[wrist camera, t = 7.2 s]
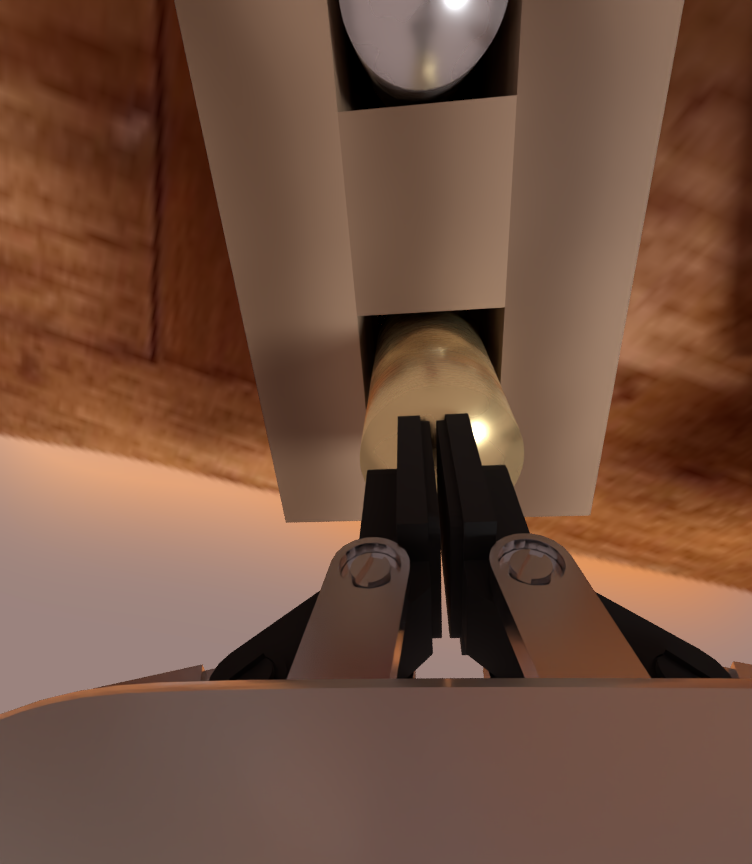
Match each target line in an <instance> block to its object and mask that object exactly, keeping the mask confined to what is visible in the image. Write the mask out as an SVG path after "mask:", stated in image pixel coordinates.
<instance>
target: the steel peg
mask: <svg viewBox="0 0 752 864" xmlns="http://www.w3.org/2000/svg"><path fill="white" fill-rule="evenodd" d="M339 3H340V9H341V14H342V18H343V22H344V25H345V27H346V30H347V33H348V35H349V38H350V40H351V42H352V44H353V46H354V49H355V51H356V53H357V55H358V57H359V59H360V62H361V64H362V66H363V68H364V70H365V72H366V75H367V77H368V79H369V81H370V83H371V85H372V87H373V90H374V91H375V93H376V94H377V96H378V97H379V98H380V99H381V101H382V102H383V103H384V104H385V105H387V106H388V107H398V106H408V105H419V104H429V103H440V102H447V101H448V100H449V99H450V98H451V97H452V96H453V95H454V93H455V92H456V91H457V89H458V88H459V86H460V85H461V84H462V82H463V81H464V80H465V78H466V77H467V76H468V74H469V73H470V72H471V70H472V69H473V67H474V66H475V65H476V63H477V62H478V61H479V59H480V58H481V57H482V55H483V54H484V52H485V51H486V50H487V48H488V47H489V45H490V44H491V42H492V40H493V38H494V37H495V35H496V33H497V31H498V29H499V26H500V24H501V21H502V19H503V16H504V13H505V10H506V6H507V3H508V0H339Z"/></svg>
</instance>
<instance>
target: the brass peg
mask: <svg viewBox="0 0 752 864" xmlns="http://www.w3.org/2000/svg"><path fill="white" fill-rule="evenodd" d="M460 413H468V415H469V418H470V422H471V426H472V430H473V433H474V437H475V441H476V444H477V448H478V452H479V456H480V459H481V463H482V465H506V467H507V469H508V472H509V475H510V478H511V481H512V484H513V486H514V485H515V484H516V482H517V480H518V478H519V476H520V473H521V470H522V467H523V461H524V445H523V439H522V436H521V433H520V430H519V427H518V425H517V423H516V420H515V418H514V416H513V413H512V411H511V408H510V406H509V404H508V401H507V399H506V397H505V394H504V392H503V389H502V387H501V385H500V382H499V380H498V378H497V375H496V373H495V371H494V368H493V366H492V363H491V361H490V359H489V356H488V354H487V352H486V349H485V347H484V344H483V342H482V340H481V337H480V335H479V333H478V330H477V328H476V325H475V323H474V321H473V319H472V317H471V316H470V314H469V313H468V312H467V311H466V310H451V311H435V312H418V313H401V314H388V315H387V316H386V317H385V319H384V321H383V322H382V325H381V327H380V330H379V333H378V339H377V345H376V351H375V358H374V364H373V371H372V377H371V383H370V390H369V396H368V403H367V409H366V415H365V422H364V428H363V434H362V441H361V448H360V467H361V472H362V475H363V478H364V481H365V482H366V475H367V470H373V469H397V427H398V416H416V415H420V421H429V423H430V433H431V442H432V451H433V460H434V469H435V479H436V488H437V452H436V420H444V418H445V414H460Z"/></svg>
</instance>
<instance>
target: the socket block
mask: <svg viewBox="0 0 752 864" xmlns="http://www.w3.org/2000/svg"><path fill="white" fill-rule="evenodd" d="M174 2H175V7H176V11H177V16H178V21H179V25H180V30H181V35H182V39H183V44H184V49H185V53H186V58H187V63H188V67H189V72H190V77H191V81H192V86H193V91H194V95H195V100H196V105H197V109H198V114H199V119H200V123H201V128H202V133H203V137H204V142H205V147H206V151H207V156H208V161H209V165H210V170H211V175H212V179H213V184H214V189H215V193H216V198H217V203H218V207H219V212H220V217H221V221H222V226H223V231H224V235H225V240H226V245H227V249H228V254H229V259H230V263H231V268H232V273H233V277H234V282H235V287H236V291H237V296H238V301H239V305H240V310H241V315H242V319H243V324H244V329H245V333H246V338H247V343H248V347H249V352H250V357H251V361H252V366H253V371H254V375H255V380H256V385H257V389H258V394H259V399H260V403H261V408H262V413H263V417H264V422H265V427H266V431H267V436H268V441H269V445H270V450H271V455H272V459H273V464H274V469H275V473H276V478H277V483H278V487H279V492H280V497H281V501H282V506H283V511H284V515H285V520H286V522H325V521H326V522H327V521H328V522H329V521H361V520H362V511H363V502H364V493H365V484H366V482H365V481H364V478H363V475H362V472H361V467H360V448H361V441H362V434H363V428H364V422H365V415H366V409H367V403H368V396H369V390H370V383H371V377H372V371H373V364H374V358H375V351H376V345H377V339H378V333H379V331H378V318H377V315H384V314H401V313H418V312H435V311H451V310H468V309H469V314H470V316H471V317H472V319H473V321H474V323H475V325H476V328H477V330H478V333H479V335H480V337H481V340H482V342H483V344H484V347H485V349H486V352H487V354H488V356H489V359H490V361H491V363H492V366H493V368H494V371H495V373H496V375H497V378H498V380H499V382H500V385H501V387H502V389H503V392H504V394H505V397H506V399H507V401H508V404H509V406H510V408H511V411H512V413H513V416H514V418H515V420H516V423H517V425H518V427H519V430H520V433H521V436H522V439H523V445H524V461H523V467H522V470H521V473H520V476H519V478H518V480H517V482H516V484H515V485H514V489H515V492H516V495H517V498H518V501H519V504H520V507H521V509H522V512H523V515H524V517H542V516H584V515H590V513H591V508H592V503H593V497H594V492H595V486H596V481H597V475H598V470H599V464H600V459H601V453H602V448H603V442H604V437H605V431H606V426H607V421H608V415H609V410H610V404H611V399H612V393H613V388H614V382H615V377H616V371H617V366H618V360H619V355H620V350H621V344H622V339H623V333H624V328H625V322H626V317H627V311H628V306H629V300H630V295H631V289H632V284H633V279H634V273H635V268H636V262H637V257H638V251H639V246H640V240H641V235H642V229H643V224H644V218H645V213H646V207H647V202H648V197H649V191H650V186H651V180H652V175H653V169H654V164H655V158H656V153H657V147H658V142H659V136H660V131H661V126H662V120H663V115H664V109H665V104H666V98H667V93H668V87H669V82H670V76H671V71H672V65H673V60H674V55H675V49H676V44H677V38H678V33H679V27H680V22H681V16H682V11H683V5H684V0H508V3H507V6H506V10H505V13H504V16H503V19H502V21H501V24H500V26H499V29H498V31H497V33H496V35H495V37H494V38H493V40H492V42H491V44H490V45H489V47H488V48H487V50H486V51H485V52H484V54H483V55H482V57H481V58H480V59H479V61H478V62H477V63H476V65H475V66H474V99H471V100H461V101H450V102H440V103H429V104H419V105H408V106H398V107H387V108H377V109H366V110H362V102H361V89H360V75H359V62H358V55H357V53H356V51H355V49H354V46H353V44H352V42H351V40H350V38H349V35H348V33H347V30H346V27H345V25H344V22H343V18H342V14H341V9H340V3H339V0H174Z"/></svg>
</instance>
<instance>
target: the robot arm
mask: <svg viewBox="0 0 752 864" xmlns="http://www.w3.org/2000/svg"><path fill="white" fill-rule="evenodd" d="M436 452H437V488H436V479H435V469H434V460H433V451H432V442H431V433H430V423H429V421H420V415H416V416H398V427H397V469H373V470H367V475H366V484H365V493H364V502H363V511H362V520H361V529H360V538H359V539H358V540H355V541H352V542H350V543H348V544H347V545H345V546H343V547H342V548H341V549H340V550H339V551H338V552H337V553H336V554H335V556H334V558H333V559H332V561H331V564H330V566H329V569H328V572H327V574H326V577H325V580H324V582H323V585H322V588H321V590H320V591H319V592H317V593H316V594H314V595H313V596H312V597H310V598H309V599H307V600H306V601H304V602H303V603H302V604H300V605H299V606H298V607H296V608H294V609H293V610H292V611H290V612H289V613H287V614H286V615H284V616H283V617H282V618H280V619H279V620H277V621H276V622H274V623H273V624H272V625H270V626H269V627H267V628H266V629H264V630H263V631H262V632H260V633H259V634H257V635H256V636H255V637H253V638H252V639H250V640H249V641H248V642H246V643H245V644H243V645H242V646H240V647H239V648H237V649H236V650H234V651H233V652H232V653H230V654H229V655H228V656H227V657H226V658H225V659H223V661H222V662H220V663H219V664H218V666H217V667H216V668H215V669H210V670H206V671H205V669H204V667H203V665H198V666H193V667H189V668H184V669H180V670H175V671H170V672H166V673H162V674H157V675H153V676H148V677H143V678H139V679H134V680H130V681H125V682H120V683H116V684H112V685H107V686H102V687H98V688H93V689H88V690H81V691H76V692H72V693H68V694H64V695H59V696H55V697H51V698H47V699H43V700H39V701H37V702H34V703H31V704H28V705H25V706H22V707H20V708H17V709H14V710H11V711H8V712H5V713H2V714H0V864H752V665H750V664H745V663H740V662H732V665H731V667H730V668H726V667H722V666H721V665H720V664H719V663H718V662H717V661H716V660H715V659H713V658H712V657H710V656H709V655H707V654H706V653H704V652H703V651H701V650H700V649H698V648H696V647H695V646H693V645H691V644H689V643H687V642H685V641H683V640H682V639H680V638H678V637H676V636H675V635H673V634H671V633H669V632H667V631H665V630H664V629H662V628H660V627H658V626H656V625H654V624H653V623H651V622H649V621H647V620H645V619H644V618H642V617H640V616H638V615H636V614H635V613H633V612H631V611H629V610H627V609H625V608H624V607H622V606H620V605H618V604H616V603H614V602H612V601H611V600H609V599H607V598H606V597H604V596H602V595H600V594H598V593H596V592H595V591H594V590H593V588H592V587H591V585H590V584H589V582H588V581H587V579H586V577H585V576H584V574H583V573H582V571H581V570H580V568H579V567H578V565H577V564H576V562H575V561H574V559H573V558H572V556H571V555H570V554H569V553H568V551H567V550H566V549H565V548H564V547H563V546H561V545H560V544H558V543H557V542H555V541H554V540H551V539H549V538H546V537H544V536H541V535H535V534H530V532H529V530H528V527H527V524H526V521H525V518H524V515H523V512H522V509H521V507H520V504H519V501H518V498H517V495H516V492H515V489H514V486H513V484H512V481H511V478H510V475H509V472H508V469H507V467H506V465H482V463H481V459H480V456H479V452H478V448H477V444H476V441H475V437H474V433H473V430H472V426H471V422H470V418H469V415H468V413H460V414H445V418H444V420H436ZM441 556H442V566H443V576H444V584H445V595H446V605H447V615H448V624H449V633H450V638H460V644H461V652H462V655H469V656H470V657H471V658H473V659H474V660H475V661H476V662H478V663H479V664H480V665H481V666H483V674H484V678H446V679H445V678H444V679H443V678H438V679H437V678H433V679H432V678H431V679H416V669H417V668H418V667H419V666H420V665H421V664H422V663H423V662H425V661H426V660H427V659H428V658H429V657H430V656H431V655H432V653H433V647H432V638H442V621H441V620H442V615H441V614H442V613H441Z"/></svg>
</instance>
